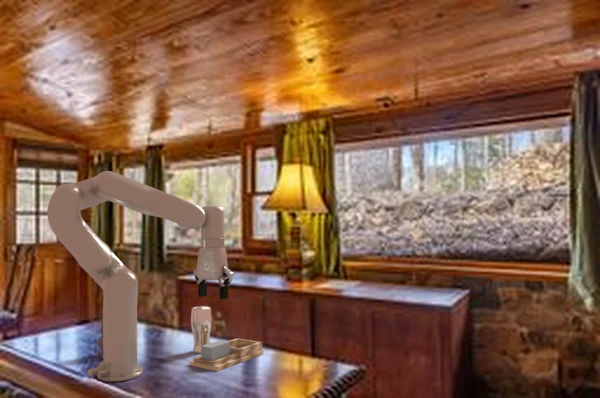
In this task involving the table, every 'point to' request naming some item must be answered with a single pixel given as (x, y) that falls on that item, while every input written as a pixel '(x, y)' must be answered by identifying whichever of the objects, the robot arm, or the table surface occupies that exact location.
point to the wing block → (215, 350)
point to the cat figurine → (101, 339)
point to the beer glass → (201, 326)
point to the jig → (232, 355)
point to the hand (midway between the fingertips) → (213, 297)
